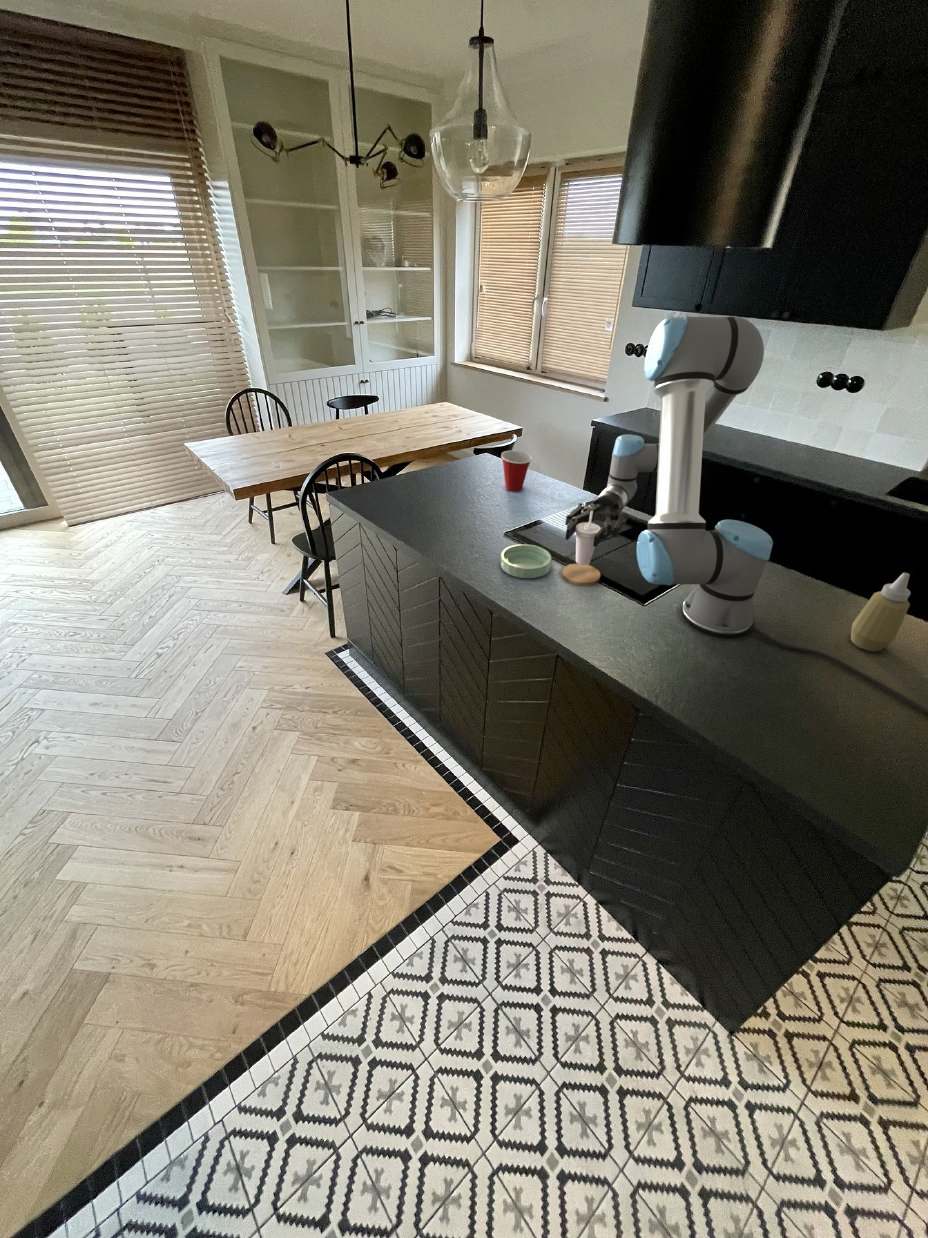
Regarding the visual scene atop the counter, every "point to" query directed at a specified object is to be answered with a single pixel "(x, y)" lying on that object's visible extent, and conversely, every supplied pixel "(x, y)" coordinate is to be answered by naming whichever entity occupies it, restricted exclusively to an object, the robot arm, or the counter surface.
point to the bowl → (525, 561)
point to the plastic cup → (515, 468)
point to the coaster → (581, 574)
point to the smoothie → (585, 541)
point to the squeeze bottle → (882, 616)
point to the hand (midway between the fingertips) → (581, 538)
